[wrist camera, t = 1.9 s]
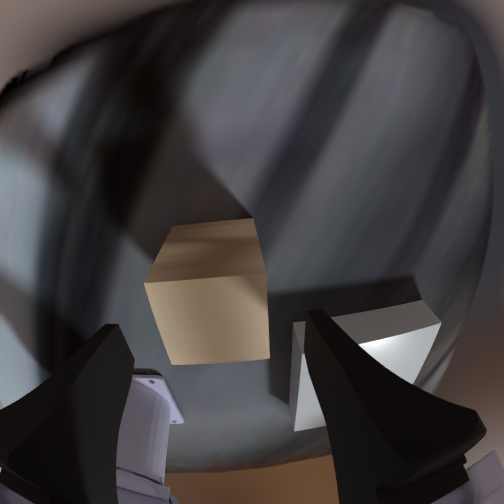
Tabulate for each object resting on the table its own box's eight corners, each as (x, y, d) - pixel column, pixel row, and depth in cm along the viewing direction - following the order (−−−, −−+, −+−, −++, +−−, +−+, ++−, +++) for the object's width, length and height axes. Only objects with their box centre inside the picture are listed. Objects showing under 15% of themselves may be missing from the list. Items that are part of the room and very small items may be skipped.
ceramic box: (288, 402, 24) (294, 431, 21) (291, 318, 19) (302, 354, 16) (388, 380, 24) (400, 404, 21) (419, 297, 19) (441, 322, 16)
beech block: (186, 292, 17) (171, 364, 12) (172, 225, 15) (143, 283, 10) (257, 286, 17) (269, 358, 12) (253, 217, 15) (265, 273, 10)
